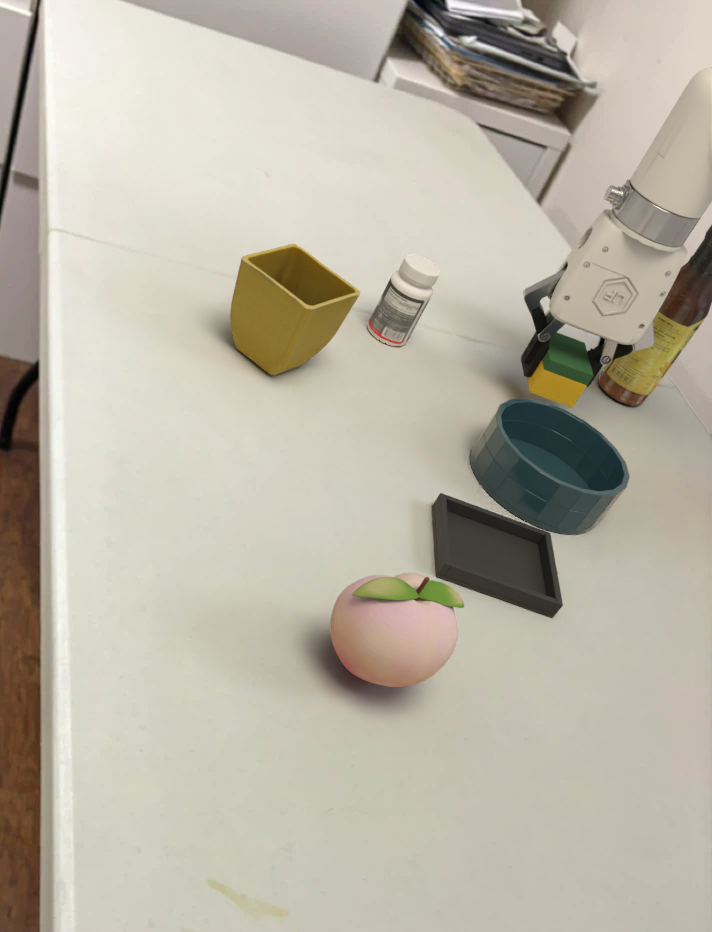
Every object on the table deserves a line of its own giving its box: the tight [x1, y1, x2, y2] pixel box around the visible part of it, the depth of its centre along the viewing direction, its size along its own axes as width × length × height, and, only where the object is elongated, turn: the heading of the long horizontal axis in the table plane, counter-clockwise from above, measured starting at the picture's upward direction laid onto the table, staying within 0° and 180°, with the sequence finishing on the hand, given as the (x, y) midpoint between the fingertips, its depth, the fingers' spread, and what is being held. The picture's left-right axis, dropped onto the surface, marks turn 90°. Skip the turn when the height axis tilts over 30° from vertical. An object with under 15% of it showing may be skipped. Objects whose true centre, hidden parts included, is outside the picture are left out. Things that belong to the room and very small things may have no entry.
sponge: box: [526, 331, 594, 408], centre depth 116 cm, size 5×7×4 cm
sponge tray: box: [431, 492, 564, 619], centre depth 97 cm, size 11×10×2 cm
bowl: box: [469, 397, 630, 536], centre depth 107 cm, size 14×14×5 cm
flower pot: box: [229, 243, 361, 376], centre depth 104 cm, size 9×9×9 cm
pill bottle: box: [367, 253, 441, 347], centre depth 116 cm, size 5×5×8 cm
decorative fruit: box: [329, 572, 465, 688], centre depth 78 cm, size 9×8×10 cm
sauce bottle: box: [598, 224, 712, 407], centre depth 122 cm, size 7×6×20 cm
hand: (550, 378), depth 117 cm, fingers closed on sponge, 5 cm apart
